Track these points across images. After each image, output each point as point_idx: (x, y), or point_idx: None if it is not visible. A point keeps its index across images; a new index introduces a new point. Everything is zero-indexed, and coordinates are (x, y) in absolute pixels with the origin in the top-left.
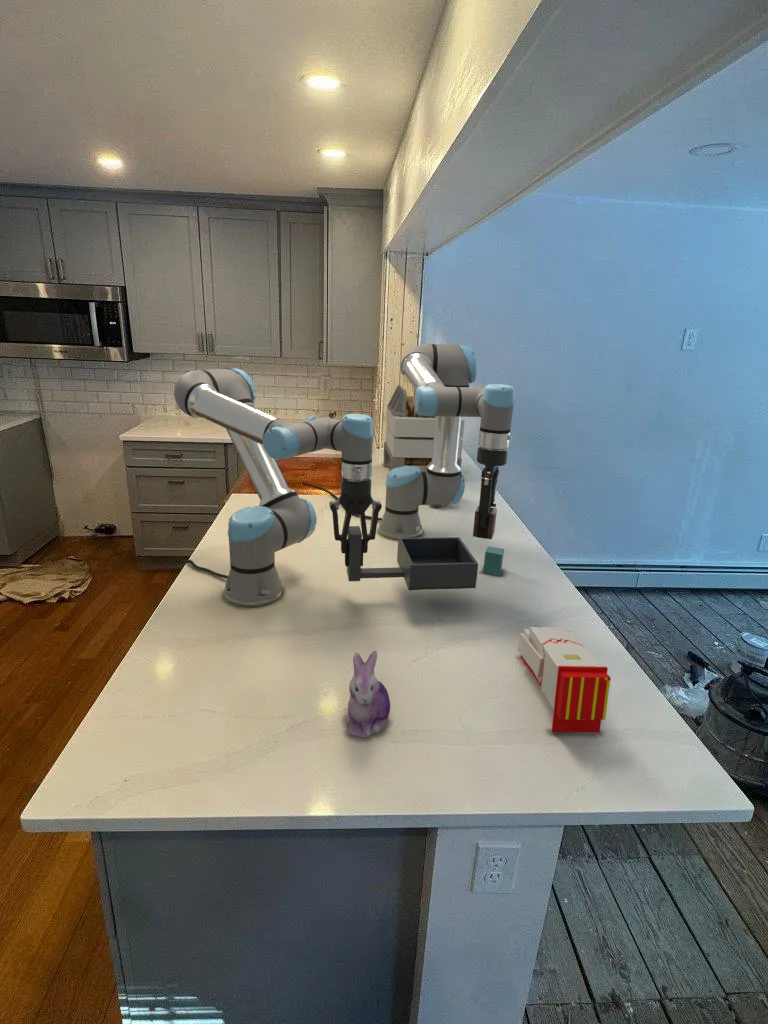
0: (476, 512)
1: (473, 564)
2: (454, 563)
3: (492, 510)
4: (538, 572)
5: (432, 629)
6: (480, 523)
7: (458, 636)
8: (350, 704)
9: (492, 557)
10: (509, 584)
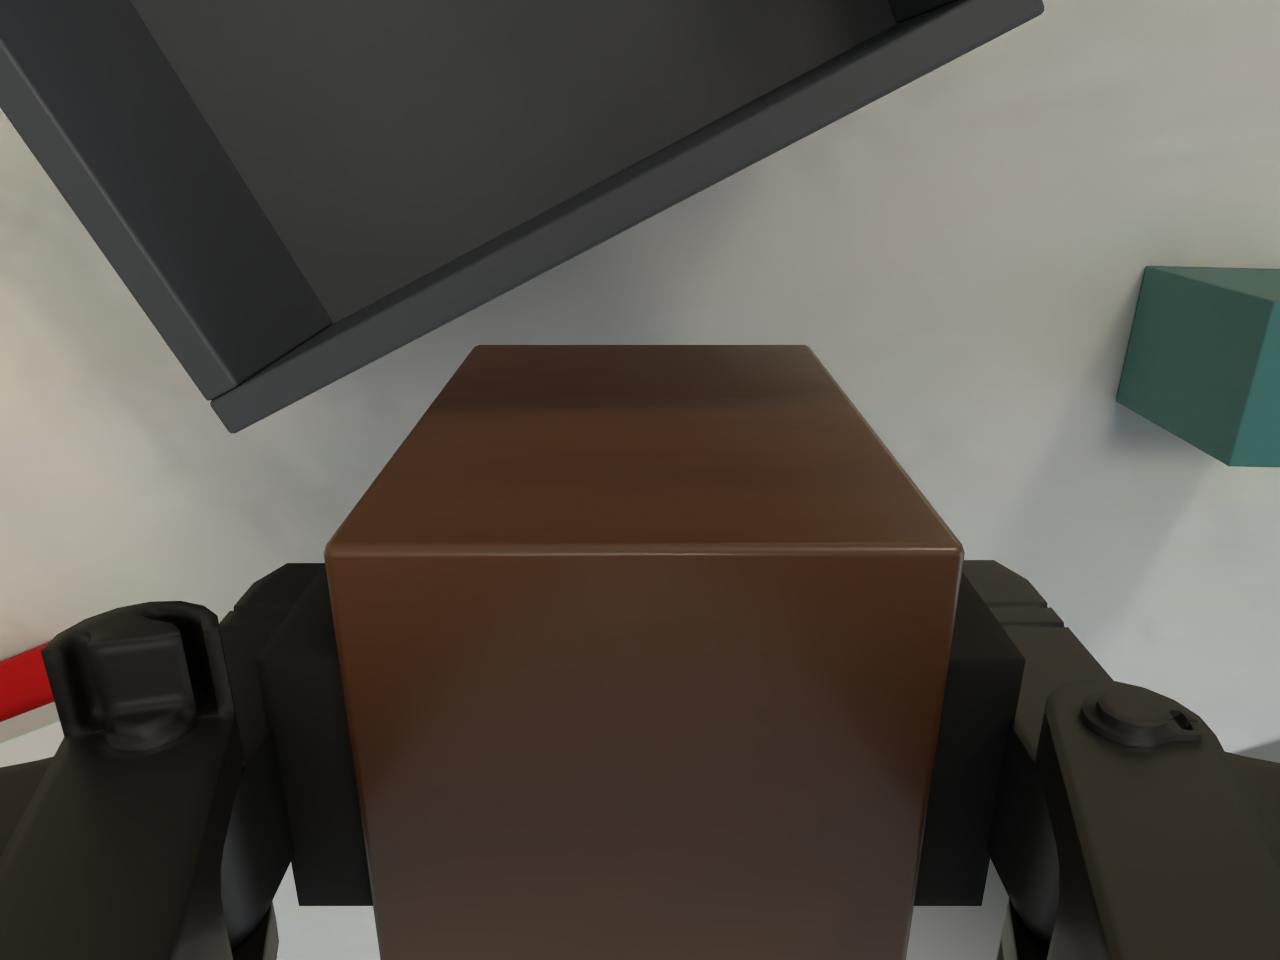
0: (56, 647)
1: (194, 379)
2: (49, 143)
3: (676, 942)
4: (1241, 655)
5: None
6: (240, 612)
7: (68, 261)
8: None
9: (1224, 368)
10: (982, 488)
